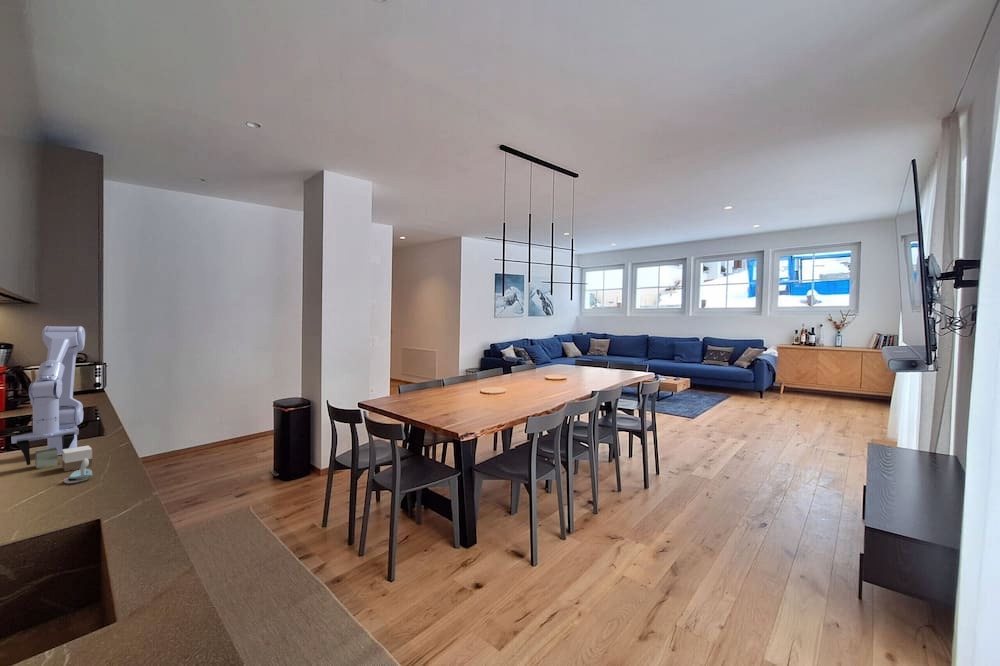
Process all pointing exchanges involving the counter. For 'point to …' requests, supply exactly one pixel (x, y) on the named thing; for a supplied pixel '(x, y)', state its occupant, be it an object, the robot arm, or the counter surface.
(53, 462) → the green block
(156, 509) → the counter surface
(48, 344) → the robot arm
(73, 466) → the base slab
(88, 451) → the top slab
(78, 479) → the pacifier
